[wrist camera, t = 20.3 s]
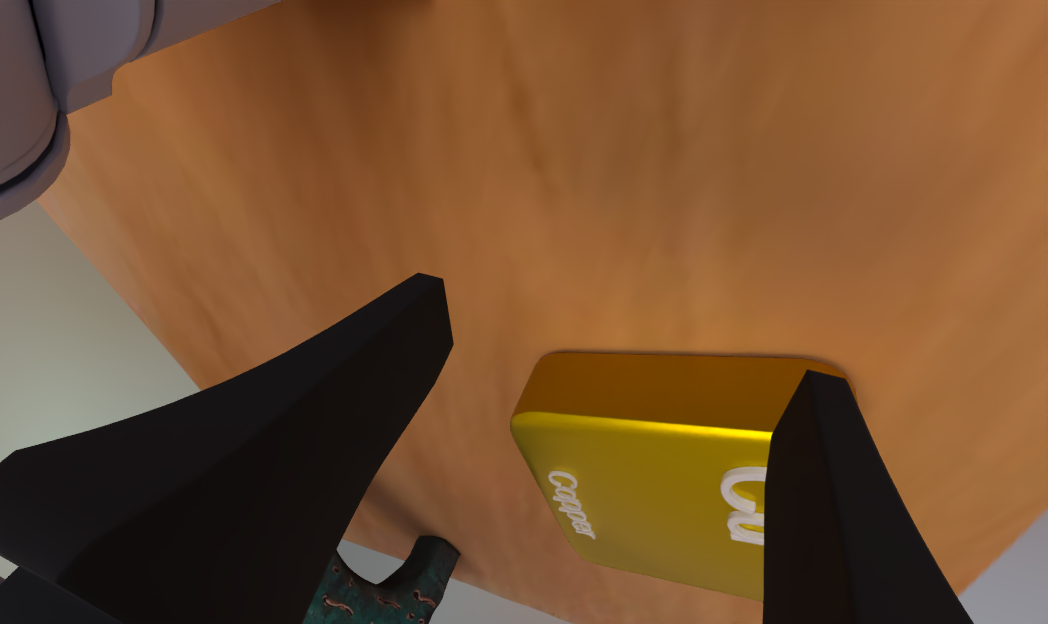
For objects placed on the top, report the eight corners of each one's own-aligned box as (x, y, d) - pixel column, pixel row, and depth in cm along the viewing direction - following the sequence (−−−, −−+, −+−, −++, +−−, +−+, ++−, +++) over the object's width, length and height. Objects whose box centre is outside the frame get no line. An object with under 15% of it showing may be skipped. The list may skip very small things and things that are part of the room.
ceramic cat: (478, 562, 54) (372, 817, 40) (436, 558, 58) (327, 788, 44) (344, 442, 45) (153, 714, 32) (305, 446, 49) (121, 690, 36)
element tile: (526, 347, 28) (490, 419, 25) (859, 355, 21) (869, 456, 18) (593, 502, 37) (574, 569, 34) (846, 544, 30) (852, 635, 26)
